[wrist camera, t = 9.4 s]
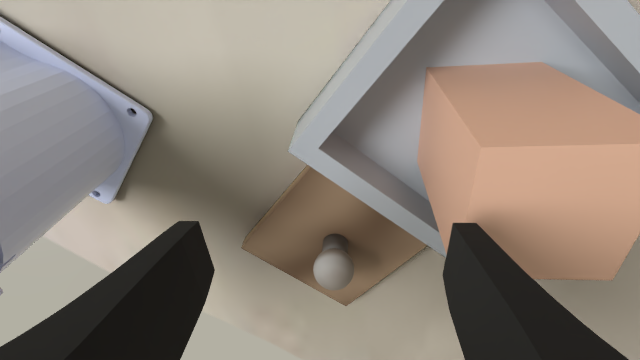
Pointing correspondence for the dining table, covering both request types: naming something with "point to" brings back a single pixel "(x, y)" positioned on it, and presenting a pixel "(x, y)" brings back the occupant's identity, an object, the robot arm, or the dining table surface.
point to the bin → (450, 50)
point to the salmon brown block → (532, 166)
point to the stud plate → (320, 218)
